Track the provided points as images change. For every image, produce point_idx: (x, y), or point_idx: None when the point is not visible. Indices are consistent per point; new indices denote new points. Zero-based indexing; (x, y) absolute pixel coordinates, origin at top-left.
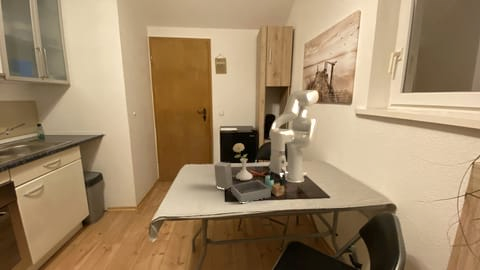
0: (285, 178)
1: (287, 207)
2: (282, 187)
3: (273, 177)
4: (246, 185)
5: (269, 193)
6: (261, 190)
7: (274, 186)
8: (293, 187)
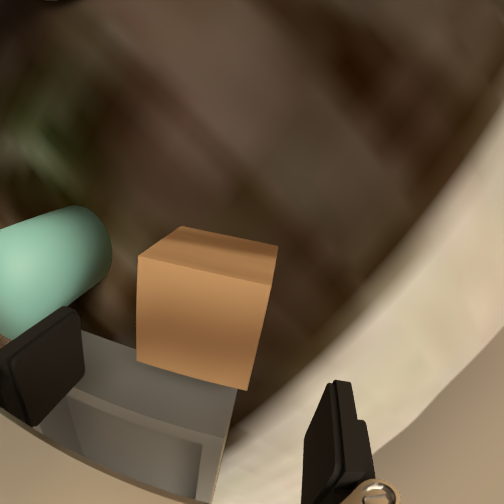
0: (391, 490)
1: (440, 387)
2: (265, 306)
3: (58, 354)
4: (54, 429)
5: (231, 412)
6: (210, 487)
7: (195, 377)
8: (209, 19)
